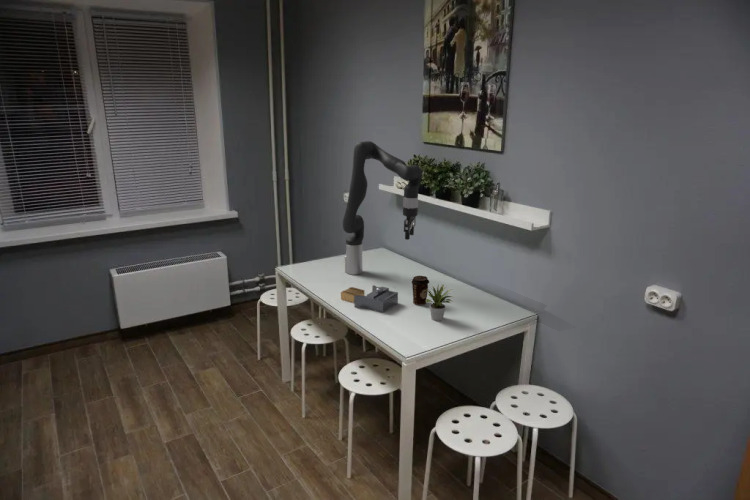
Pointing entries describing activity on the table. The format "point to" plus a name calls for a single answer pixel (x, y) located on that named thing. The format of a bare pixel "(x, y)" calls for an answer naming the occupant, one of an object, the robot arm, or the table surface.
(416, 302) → the coffee cup
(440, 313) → the house plant
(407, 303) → the table surface
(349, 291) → the block
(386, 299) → the coupler dock
